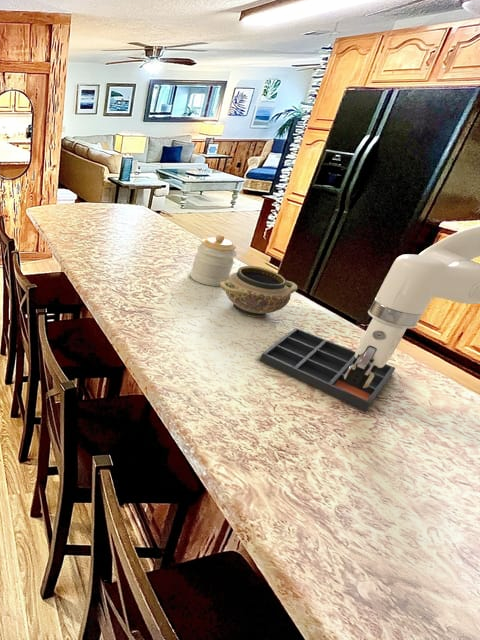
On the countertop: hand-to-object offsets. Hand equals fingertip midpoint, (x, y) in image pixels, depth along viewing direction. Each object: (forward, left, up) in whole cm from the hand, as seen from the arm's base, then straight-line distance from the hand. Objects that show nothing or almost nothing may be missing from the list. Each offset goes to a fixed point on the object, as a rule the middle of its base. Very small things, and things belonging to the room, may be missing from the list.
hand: (356, 380), depth 89 cm
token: (0, 0, 0) cm, 0 cm away
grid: (+7, -7, -4) cm, 11 cm away
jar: (+52, -34, -5) cm, 62 cm away
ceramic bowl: (+32, -22, -5) cm, 39 cm away
